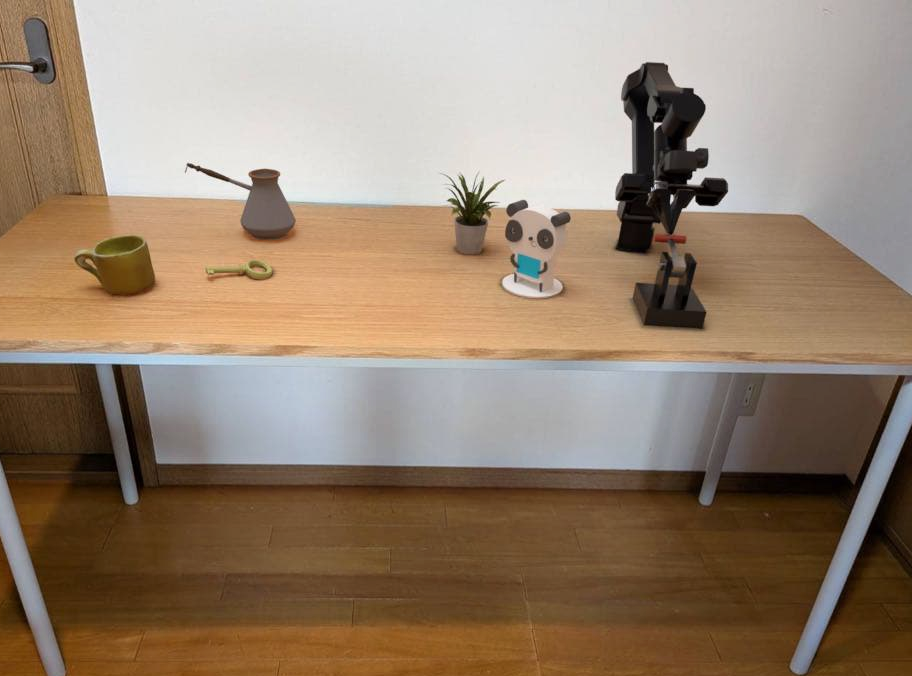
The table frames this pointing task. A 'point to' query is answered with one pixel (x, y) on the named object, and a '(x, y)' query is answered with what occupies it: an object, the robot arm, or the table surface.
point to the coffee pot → (261, 204)
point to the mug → (120, 264)
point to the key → (243, 269)
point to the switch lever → (673, 252)
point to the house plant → (471, 216)
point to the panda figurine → (534, 249)
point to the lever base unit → (670, 298)
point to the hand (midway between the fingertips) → (670, 233)
